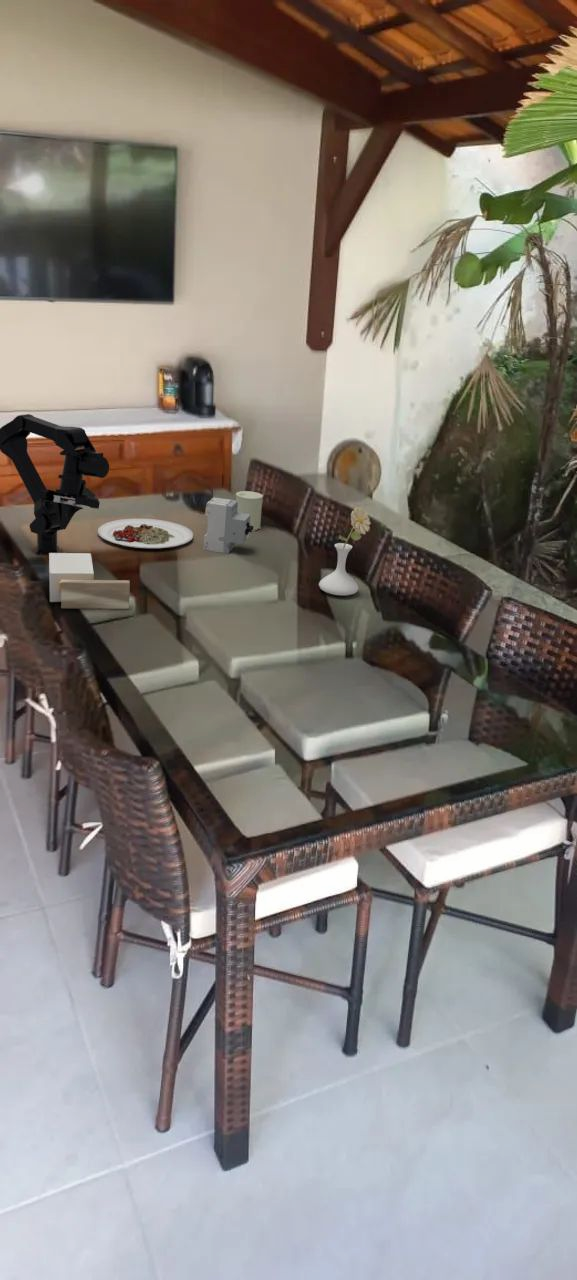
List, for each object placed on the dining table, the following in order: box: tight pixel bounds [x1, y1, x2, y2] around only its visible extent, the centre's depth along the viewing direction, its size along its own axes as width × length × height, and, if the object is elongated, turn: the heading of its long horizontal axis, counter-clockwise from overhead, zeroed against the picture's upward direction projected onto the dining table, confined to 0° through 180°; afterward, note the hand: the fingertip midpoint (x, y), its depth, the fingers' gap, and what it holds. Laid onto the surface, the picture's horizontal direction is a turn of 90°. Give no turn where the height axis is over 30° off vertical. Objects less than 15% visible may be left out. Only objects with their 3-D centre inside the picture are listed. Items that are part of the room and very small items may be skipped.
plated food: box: [97, 517, 194, 550], centre depth 293 cm, size 30×30×3 cm
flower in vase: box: [318, 506, 371, 596], centre depth 259 cm, size 13×11×25 cm
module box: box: [48, 552, 95, 603], centre depth 244 cm, size 16×11×8 cm
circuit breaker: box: [202, 497, 254, 554], centre depth 287 cm, size 8×14×15 cm, turn 78°
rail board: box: [60, 579, 131, 610], centre depth 235 cm, size 3×17×7 cm, turn 102°
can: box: [235, 490, 264, 529], centre depth 311 cm, size 9×9×12 cm
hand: (62, 529), depth 258 cm, fingers closed
